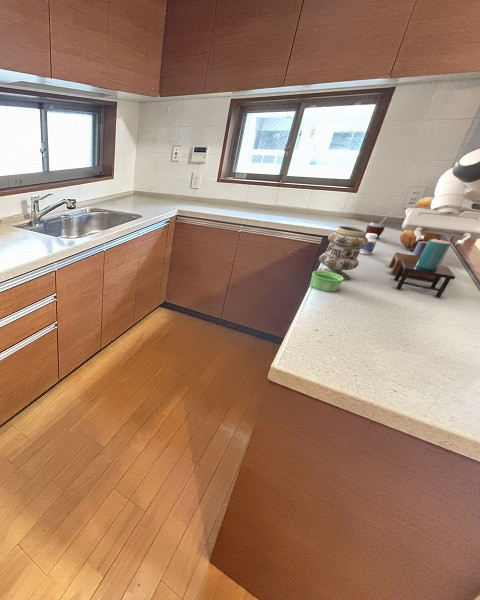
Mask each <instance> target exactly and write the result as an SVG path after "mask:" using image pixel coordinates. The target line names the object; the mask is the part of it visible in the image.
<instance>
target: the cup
mask: <svg viewBox="0 0 480 600" xmlns="http://www.w3.org/2000/svg"><path fill="white" fill-rule="evenodd" d="M451 246H452V242H450V241H446V240H441V239H440V240H434V239H430V240H429V241H428V243H427V245H426V247H425V249H424V250H423V252H422V254H421V256H420V258H419V260H418V262H417V264H416V266H418V267H421V268H424V269H430V270H437V269H438V268H439V266H440V265H441V264H442V262H443V261H444V259H445V257H446V255H447V253H448V251H449V250H450V248H451Z"/></svg>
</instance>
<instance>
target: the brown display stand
mask: <svg viewBox="0 0 480 600" xmlns="http://www.w3.org/2000/svg"><path fill="white" fill-rule="evenodd" d="M419 258H420V256H415V255H412V254H407V253H402V252H395V253H394V254H393V257H392V258H391V261H390V263H389V265H388V267H389V268H391V272H390V275H391V276H392V275H393V276H396V274H397V272H398V270H399V268H400V266H401V264H402V263H401V260H402V259H406V260H412V261H418V260H419ZM404 272H405V271H404V270H403V272H402V274H404ZM408 275H411V276H417V277H422V278H427V279H433V280H435V278H436V276H432V275H426V274H421V273H415V272H409V274H408ZM407 278H408V279H412V280H413V279H414V280H417V281H424V282H429V283H433V282H432V281H427V280H422V279H416V278H411V277H407Z"/></svg>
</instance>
